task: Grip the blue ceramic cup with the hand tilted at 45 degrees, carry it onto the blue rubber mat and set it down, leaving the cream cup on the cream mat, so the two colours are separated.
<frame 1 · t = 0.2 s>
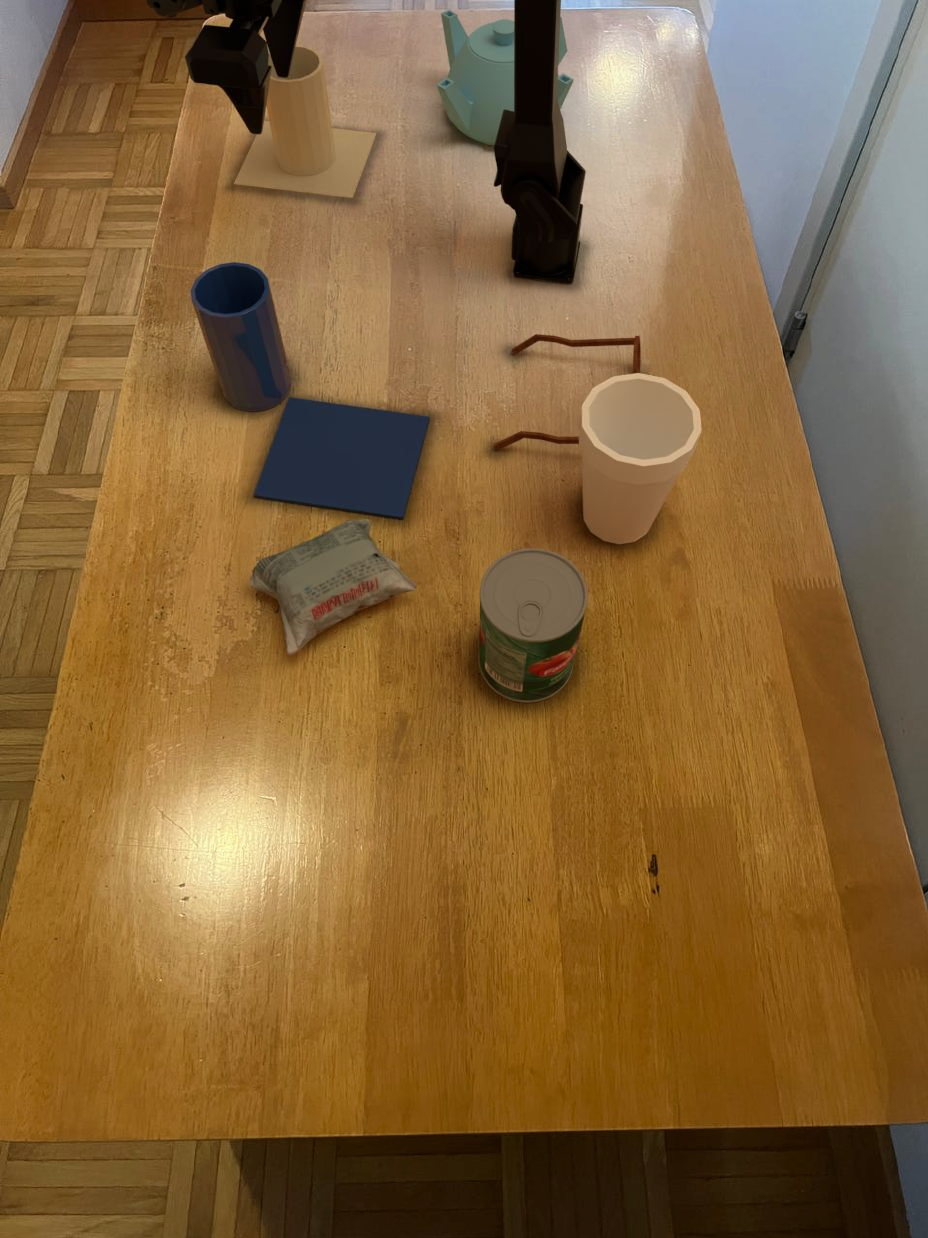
hand: (270, 103, 90), 15 cm above the table, tool pointing down, fingers open, 9 cm apart
cream mat: (307, 160, 109), on the table
canned tomato: (525, 661, 77), on the table
blue cup: (257, 385, 92), on the table
glasses: (568, 407, 91), on the table
blue mat: (344, 457, 87), on the table
foam cup: (617, 516, 84), on the table
cream cup: (306, 157, 109), resting on cream mat
packaged food: (336, 598, 80), on the table
teapot: (500, 119, 113), on the table
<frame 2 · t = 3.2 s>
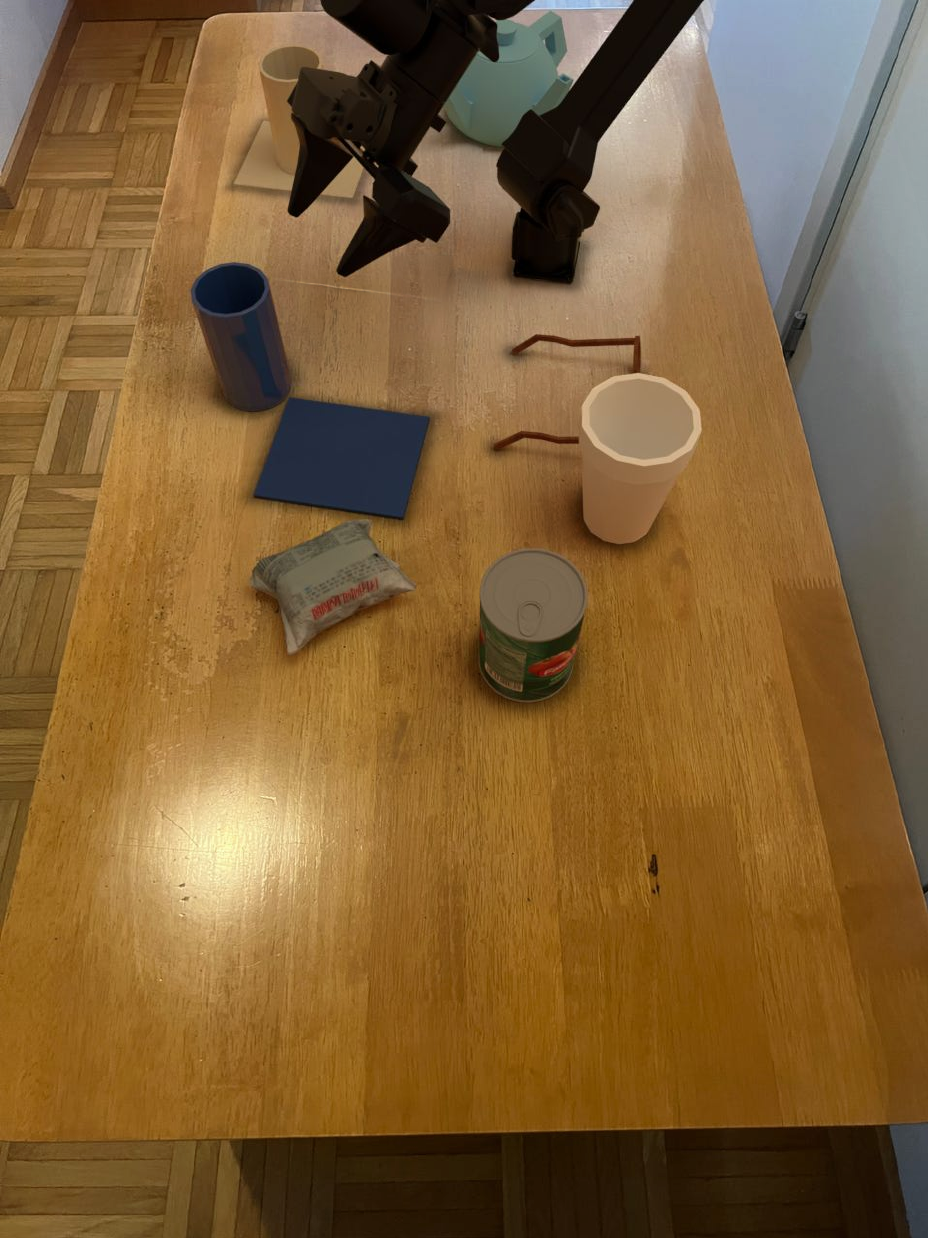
hand: (315, 244, 82), 13 cm above the table, tool tilted 45°, fingers open, 9 cm apart
nothing on the table moved.
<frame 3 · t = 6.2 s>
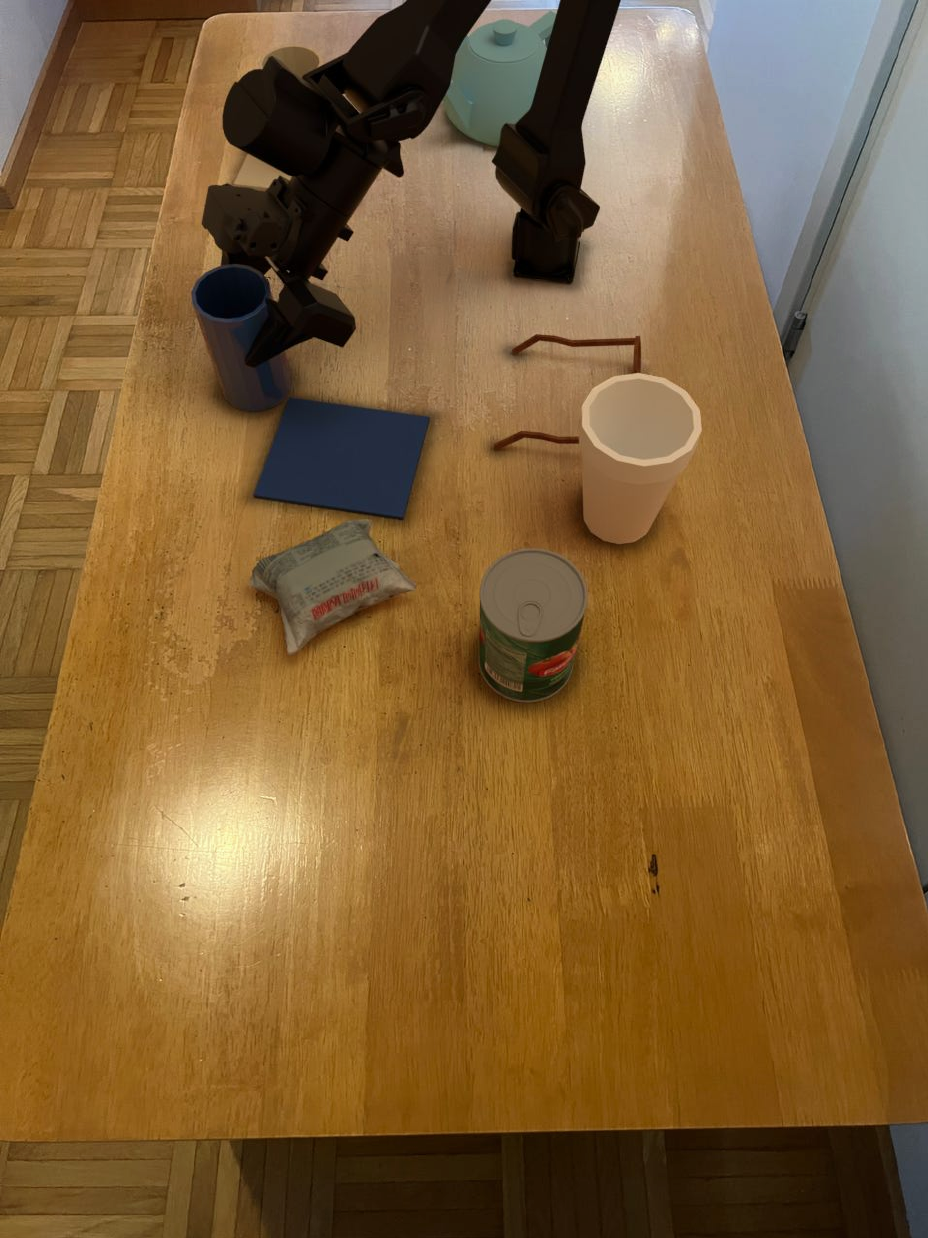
hand: (232, 340, 85), 7 cm above the table, tool tilted 45°, fingers closed on blue cup, 7 cm apart
blue cup: (256, 384, 92), on the table, touching gripper
everything else where it was.
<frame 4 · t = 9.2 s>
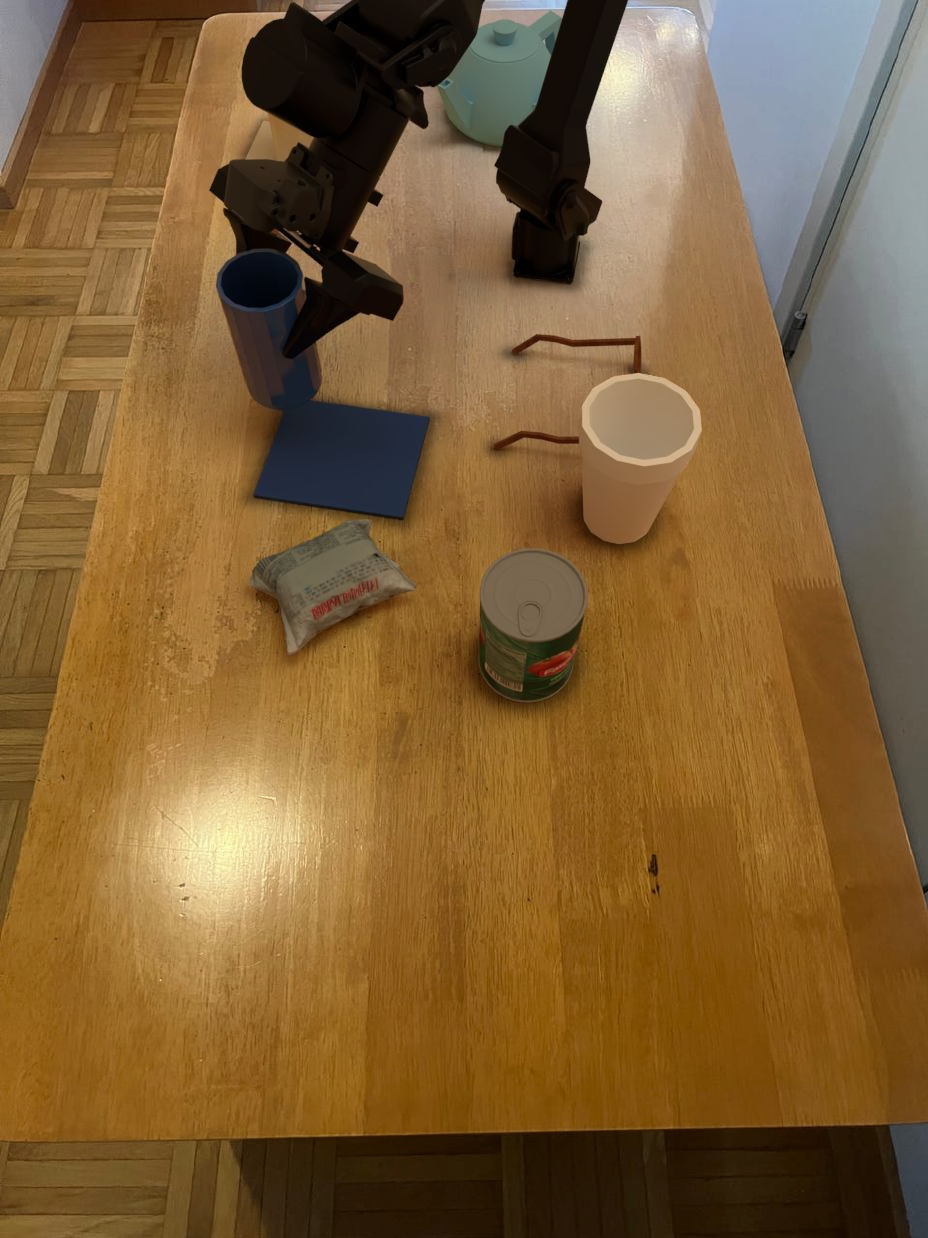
hand: (261, 333, 78), 12 cm above the table, tool tilted 45°, fingers closed on blue cup, 7 cm apart
blue cup: (284, 380, 84), point 6 cm above the table, touching gripper
everything else where it was.
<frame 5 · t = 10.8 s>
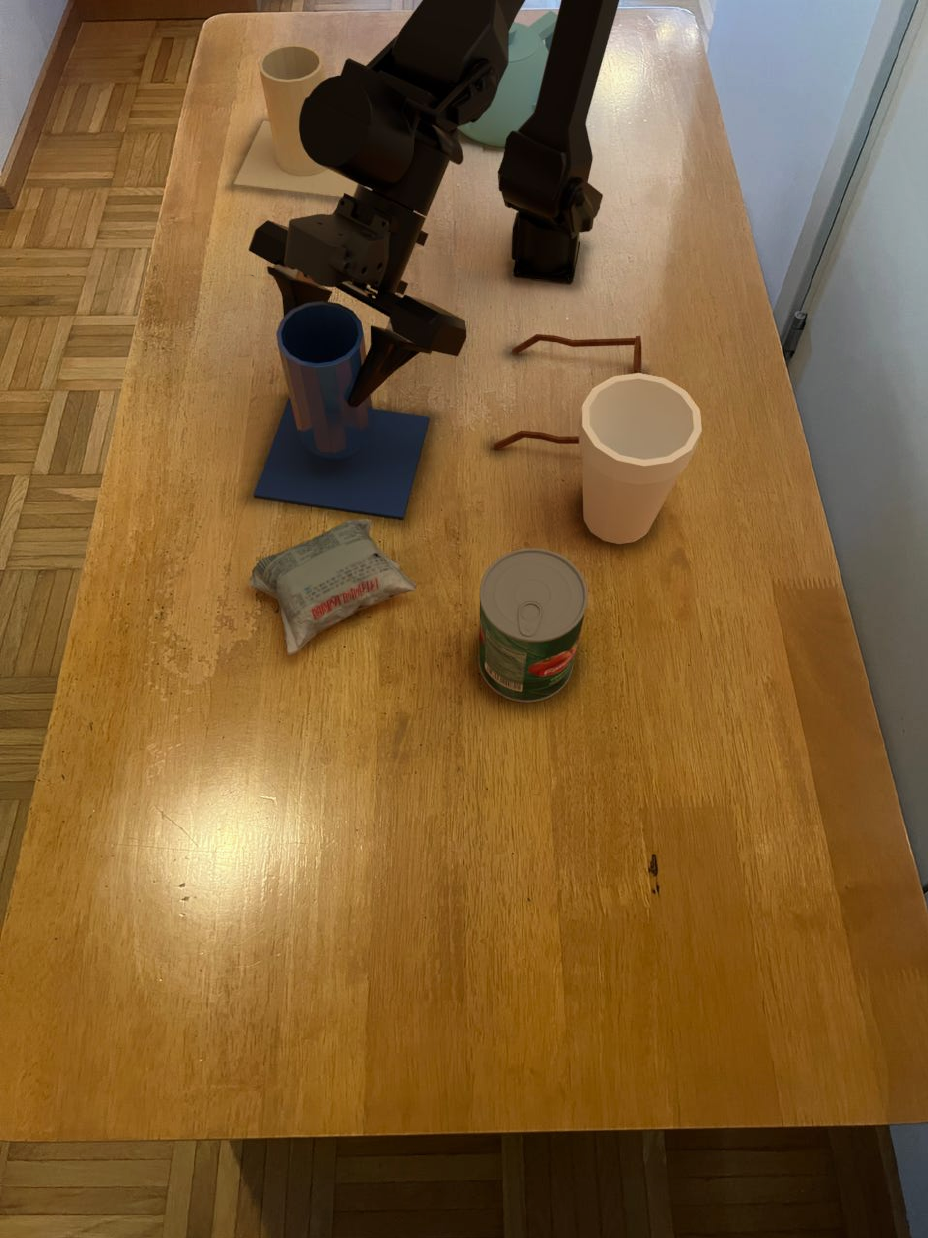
hand: (319, 386, 78), 11 cm above the table, tool tilted 45°, fingers closed on blue cup, 7 cm apart
blue cup: (336, 428, 84), point 4 cm above the table, touching gripper
everything else where it was.
when the fingers open (7 cm above the table, at t = 12.3 s): blue cup stays where it is, resting on blue mat.
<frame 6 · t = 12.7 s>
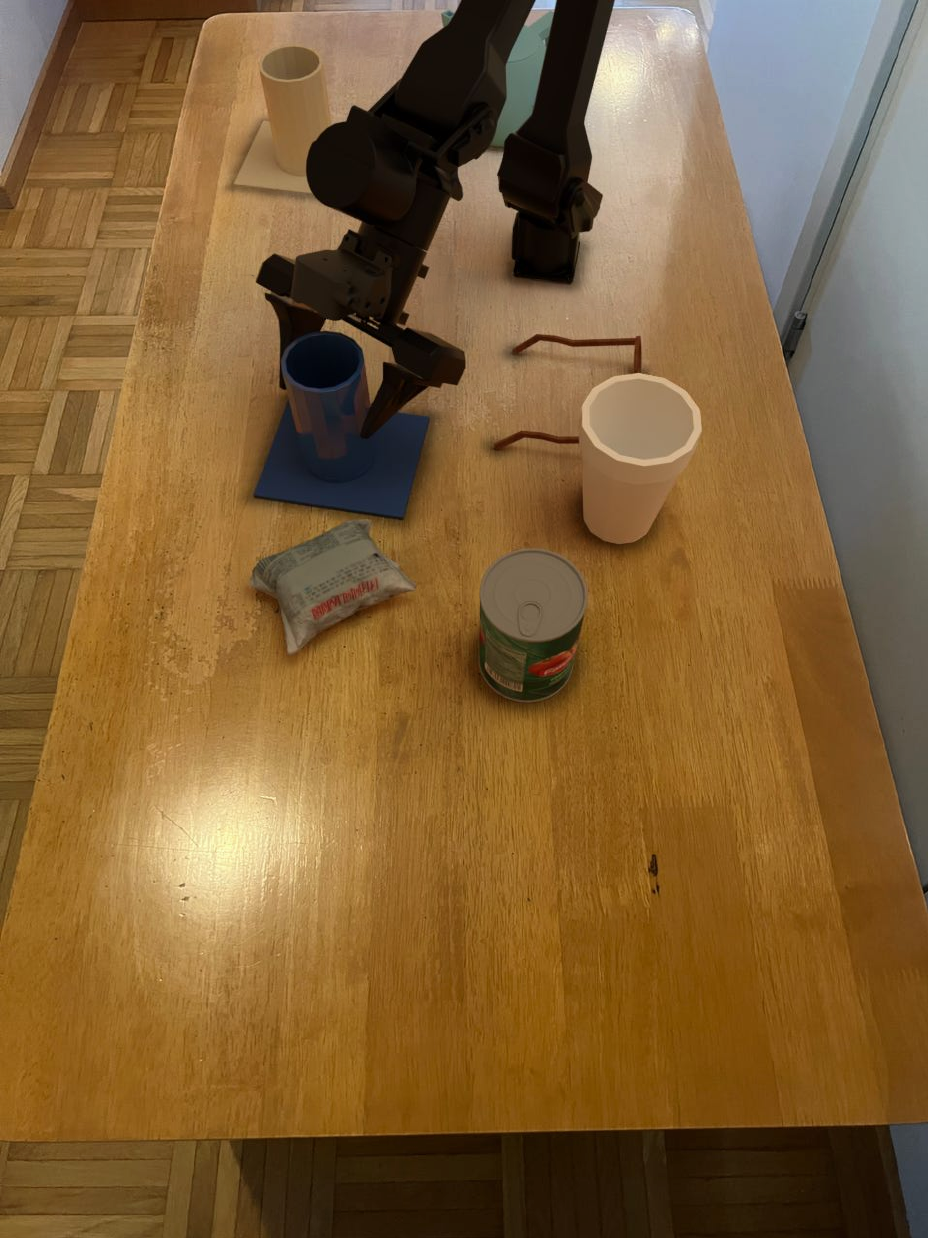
hand: (323, 413, 80), 7 cm above the table, tool tilted 45°, fingers open, 9 cm apart
blue cup: (340, 453, 87), resting on blue mat
everything else where it was.
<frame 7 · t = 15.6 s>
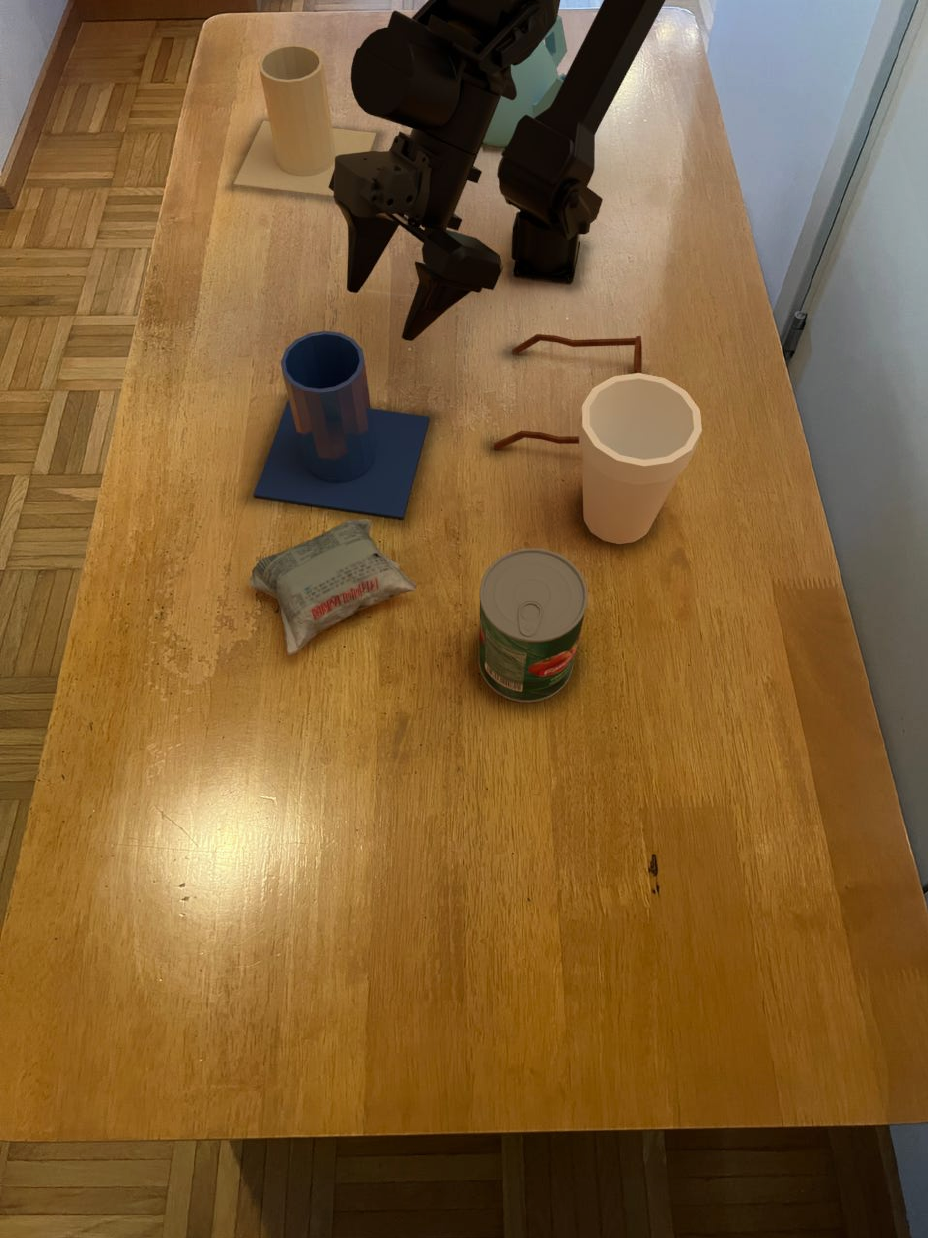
hand: (378, 315, 84), 9 cm above the table, tool tilted 35°, fingers open, 9 cm apart
nothing on the table moved.
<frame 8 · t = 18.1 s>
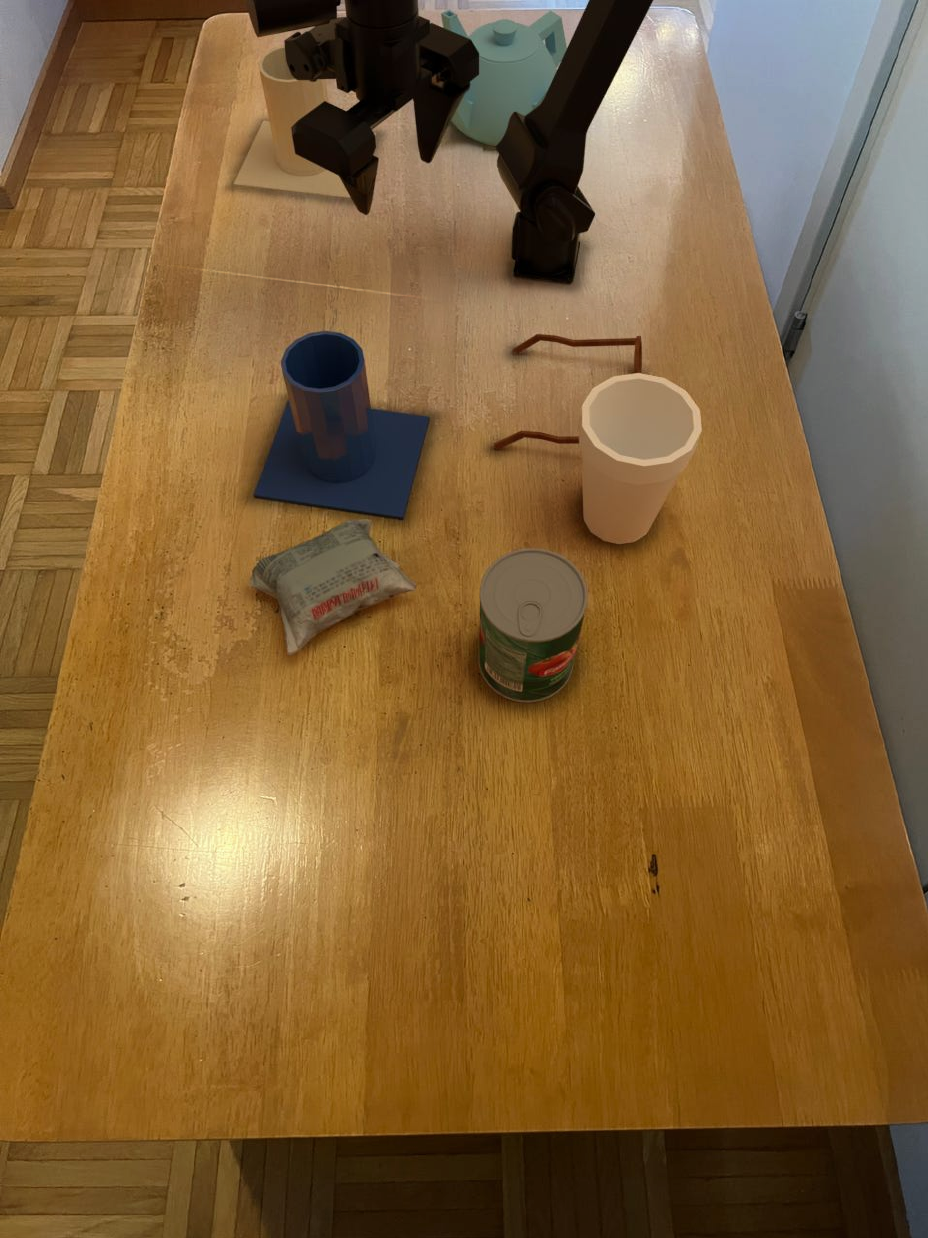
hand: (395, 186, 86), 13 cm above the table, tool pointing down, fingers open, 9 cm apart
nothing on the table moved.
at the end: blue cup inside the target area on the blue mat (0.3 cm from its centre), point 0.4 cm above the blue mat's base; blue cup tilted 0°; cream cup inside the target area on the cream mat (0.0 cm from its centre), point 0.4 cm above the cream mat's base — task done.
